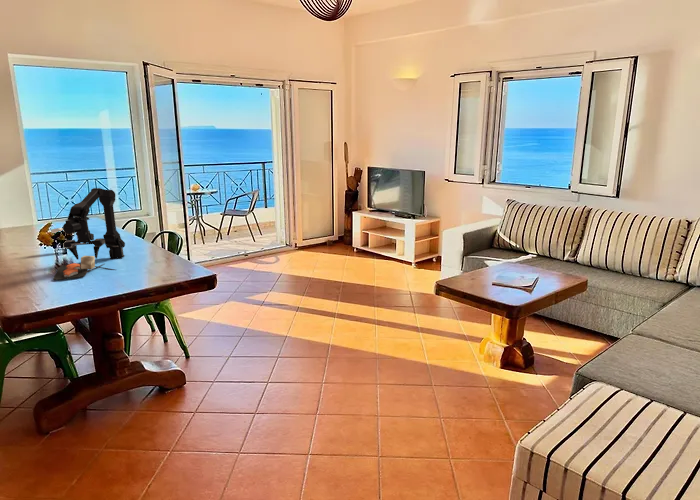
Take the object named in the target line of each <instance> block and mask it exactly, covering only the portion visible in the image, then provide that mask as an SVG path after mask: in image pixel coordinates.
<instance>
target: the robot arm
mask: <svg viewBox="0 0 700 500" xmlns="http://www.w3.org/2000/svg"><path fill="white" fill-rule="evenodd" d="M97 200H98V201H99V203H100V204H101V206H102V207H103V212H104V213H103V214H104V219H105V220H104V222H105V228H106V229H105V231H106V232H105V234H103V236H102V238H96V239H95V234H94V233H91V231H90V230H89V224H88V221H89V220H90V218H89V217H88V215H89V213H90V211H91V210H90V208H91V207H92V206H93V205H94V203H95V202H96V201H97ZM115 202H116V193H115V191H114V190H113V189H106V188H105V189H104V188H101V187H93V188H91V189H90V192H89V193H88V194H87V195H86V196H85V197H84V198H83V199H82V200H81V201H80V202H78V203H76V204H73V205H72V206H71V207H70V211H69V213H68V217H67V219H65V223H64V224H63V226H62V228H63V230H64V232H65V234H67V235H71V234H74V233H75V236H76V239H77V240H76V239H70V240H69V239H66V241H65V242H64V243H63V246H64V248H66V249H67V250H69V252H70V253H72V255H73V256H74V257H75V258H76V260H79V254H78V248H77V247H78V246H84V245H94V246H93V253H94V256H95V259H98V257H99V256H98V255H99V251H100V248H101V247H102V246H104V245H105V247H106V249H109V250H108V252H109V254H108V255H109V260H117V259H123V258H124V257H125V256H126V255H125V254H124V247H125V246H126V242H125V241H124V240H123V239H122V236H121V234H120V233H119V231H118V230H117V226H116V224H117V223H116V219H115V210H114V204H115Z"/></svg>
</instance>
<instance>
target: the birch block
mask: <svg viewBox="0 0 700 500" xmlns="http://www.w3.org/2000/svg"><path fill="white" fill-rule="evenodd" d="M95 261H96V258H95V255H83V256H81V257H80V263H81V269H88V270H92V269H94V268H96V267H95V266H96V263H95Z"/></svg>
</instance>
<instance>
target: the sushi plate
mask: <svg viewBox="0 0 700 500" xmlns="http://www.w3.org/2000/svg"><path fill="white" fill-rule="evenodd" d="M104 265H105V263H103V264H100V265H98V266H97V265H95V267H94V268H93V269H81V262H79V263H74V262H73V263H69V264H63V265H60V266H59V267H58V268H57V271H56V272H55V274H54V276H53V277H52V279H53V281H66V280H73V279H74V280H75V279H78V278H83V277H85V276H86V275H87V273H89V272H91V271H94V270H95V269H98V268H100V269H104V270H111V271H116V269H114V268H108V267H102V266H104Z"/></svg>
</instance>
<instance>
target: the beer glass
mask: <svg viewBox="0 0 700 500" xmlns="http://www.w3.org/2000/svg"><path fill="white" fill-rule="evenodd" d="M62 230H63V227H60V228H59V227H58V228H52V229H51V230H50V231H51V234H52V233H56V232H58V231H62Z"/></svg>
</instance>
